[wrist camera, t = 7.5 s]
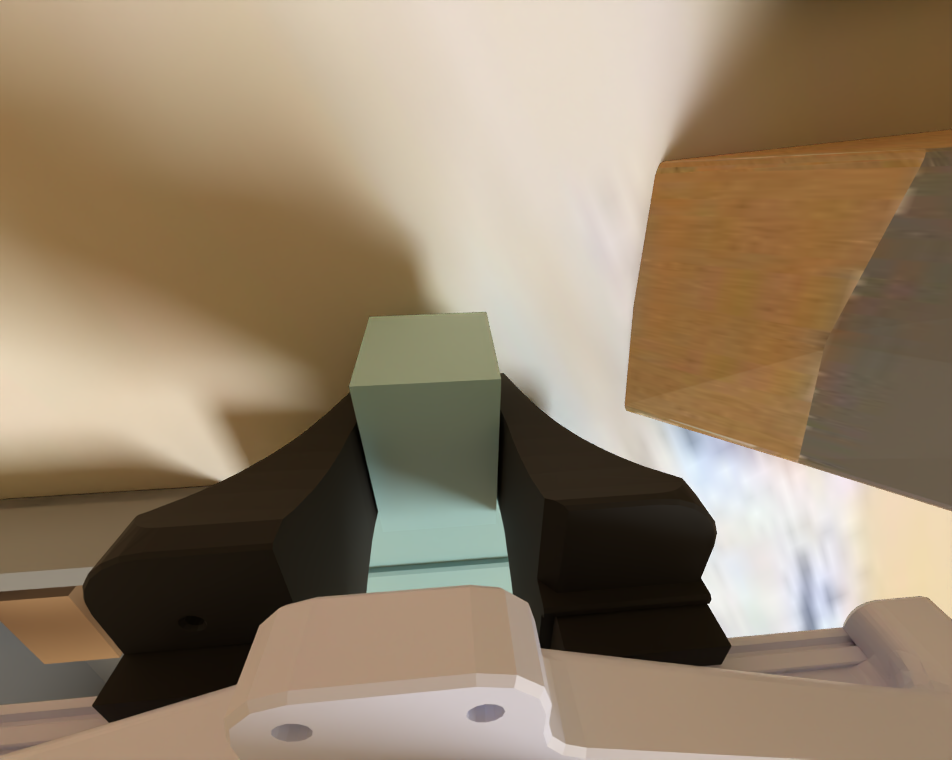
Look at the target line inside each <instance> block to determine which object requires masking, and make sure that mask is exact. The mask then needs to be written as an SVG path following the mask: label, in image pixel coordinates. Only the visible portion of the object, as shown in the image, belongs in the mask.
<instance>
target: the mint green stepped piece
mask: <svg viewBox="0 0 952 760" xmlns="http://www.w3.org/2000/svg"><path fill="white" fill-rule="evenodd" d="M349 390H350V394H351V398H352V402H353V407H354V411H355V415H356V419H357V424H358V428H359V432H360V436H361V440H362V445H363V449H364V453H365V457H366V462H367V466H368V470H369V474H370V479H371V483H372V487H373V491H374V496H375V500H376V504H377V508H378V515H377V519H376V524H375V529H374V534H373V540H372V547H371V556H370V564H369V573H368V582H367V592H366V593H374V592H387V591H399V590H411V589H424V588H436V587H448V586H461V585H478V586H490V587H500V588H502V589H504V590H506V591H508V592H509V593H511V594H513V592H512V584H511V576H510V569H509V561H508V554H507V547H506V540H505V532H504V527H503V522H502V517H501V513H500V509H499V505H498V501H497V477H498V451H499V424H500V398H501V376H500V371H499V367H498V362H497V358H496V353H495V349H494V344H493V340H492V335H491V331H490V326H489V322H488V317H487V313H486V312H472V313H448V314H423V315H398V316H374V317H369V320H368V323H367V326H366V330H365V333H364V337H363V340H362V343H361V347H360V350H359V354H358V357H357V361H356V364H355V367H354V371H353V374H352V378H351V381H350V384H349Z"/></svg>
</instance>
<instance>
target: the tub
mask: <svg viewBox="0 0 952 760" xmlns="http://www.w3.org/2000/svg"><path fill="white" fill-rule="evenodd" d="M208 487H210V486H205V487H189V488H174V489H158V490H142V491H127V492H111V493H95V494H80V495H64V496H48V497H33V498H17V499H1V500H0V592H1V591H14V590H27V589H40V588H53V587H66V586H79V585H83V583H84V581H85V579H86V577H87V575H88V573H89V572H90V571H91V570H92V568H93V567H94V566H95V565H96V564H97V562H98V561H99V560H100V559H101V558H102V556H103V555H104V554H105V553H106V552H107V550H108V549H109V548H110V547H111V546H112V544H113V543H114V542H115V541H116V540H117V538H118V537H119V536H120V535H121V534H122V532H123V531H124V530H125V529H126V528H127V526H128V525H129V524H130V523H131V522H132V520H133V519H134V518H135V517H136V516H137V515H139V514H142V513H145V512H148V511H151V510H153V509H156V508H158V507H161V506H164V505H166V504H169V503H171V502H174V501H177V500H179V499H182V498H185V497H187V496H190V495H192V494H194V493H197V492H199V491H201V490H204V489H206V488H208ZM123 655H124V654H123V653H122V655H121V657H120V658H110V659H98V660H87V661H75V662H64V663H52V664H44V663H43V662H42V661H41V660H40V659H39V658H38V657H37V656H36V655H35V654H34V653H33V652H31V651H30V650H29V649H28V648H27V647H26V646H25V645H24V644H23V643H22V642H21V641H20V640H19V639H18V638H17V637H16V636H15V635H14V634H13V633H12V632H11V631H10V630H9V629H8V628H7V627H6V626H5V625H4V624H3V623H2V622H1V621H0V705H9V704H19V703H30V702H41V701H52V700H63V699H73V698H84V697H95V696H98V695H99V693H100V692H101V690H102V688H103V687H104V685H105V684H106V682H107V680H108V679H109V677H110V676H111V674H112V672H113V671H114V669H115V668H116V666H117V664H118V663H119V661H120V660H121V658H122V657H123Z"/></svg>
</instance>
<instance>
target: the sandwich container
mask: <svg viewBox="0 0 952 760" xmlns="http://www.w3.org/2000/svg"><path fill="white" fill-rule="evenodd" d="M625 409H626V410H627V411H629V412H633V413H636V414H639V415H643V416H646V417H649V418H653V419H656V420H659V421H662V422H666V423H669V424H672V425H675V426H679V427H682V428H685V429H689V430H692V431H695V432H698V433H702V434H705V435H708V436H711V437H715V438H718V439H721V440H725V441H728V442H731V443H734V444H738V445H741V446H744V447H747V448H751V449H754V450H757V451H761V452H764V453H767V454H770V455H774V456H777V457H780V458H783V459H787V460H790V461H793V462H797V463H800V464H803V465H806V466H809V467H813V468H816V469H819V470H822V471H825V472H828V473H832V474H835V475H838V476H841V477H844V478H848V479H851V480H854V481H857V482H860V483H864V484H867V485H870V486H873V487H876V488H879V489H883V490H886V491H889V492H892V493H895V494H899V495H902V496H905V497H908V498H911V499H915V500H918V501H921V502H924V503H927V504H930V505H934V506H937V507H940V508H943V509H946V510H950V511H952V129H951V130H942V131H933V132H924V133H915V134H906V135H896V136H887V137H878V138H869V139H860V140H851V141H842V142H833V143H824V144H815V145H806V146H797V147H788V148H779V149H770V150H761V151H752V152H743V153H734V154H725V155H716V156H706V157H697V158H688V159H680V160H671V161H663V162H662V163H660V165H659V167H658V169H657V172H656V175H655V180H654V186H653V192H652V198H651V204H650V210H649V216H648V222H647V228H646V234H645V241H644V247H643V253H642V259H641V265H640V271H639V277H638V283H637V289H636V295H635V301H634V307H633V319H632V330H631V341H630V352H629V363H628V374H627V386H626V397H625Z"/></svg>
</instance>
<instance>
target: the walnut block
mask: <svg viewBox="0 0 952 760" xmlns="http://www.w3.org/2000/svg"><path fill="white" fill-rule="evenodd" d="M82 586H83V585H79V586H66V587H53V588H40V589H27V590H14V591H1V592H0V621H1V622H2V623H3V624H4V625H5V626H6V627H7V628H8V629H9V630H10V631H11V632H12V633H13V634H14V635H15V636H16V637H17V638H18V639H19V640H20V641H21V642H22V643H23V644H24V645H25V646H26V647H27V648H28V649H29V650H30V651H31V652H33V653H34V654H35V655H36V656H37V657H38V658H39V659H40V660H41V661H42V662H43V663H44V664H52V663H64V662H75V661H87V660H98V659H110V658H120V657H121V655H122V651H121V650H120V649H119V648H118V647H117V645H116V644H115V643H114V642H113V640H112V639H111V638H110V637H109V636H108V634H107V633H106V632H105V631H104V630H103V628H102V627H101V626H100V625H99V623H98V622H97V621H96V620H95V619H94V617H93V616H92V615H91V613H90V611H89V609H88V608H87V606H86V604H85V602H84V599H83V588H82Z"/></svg>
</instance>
